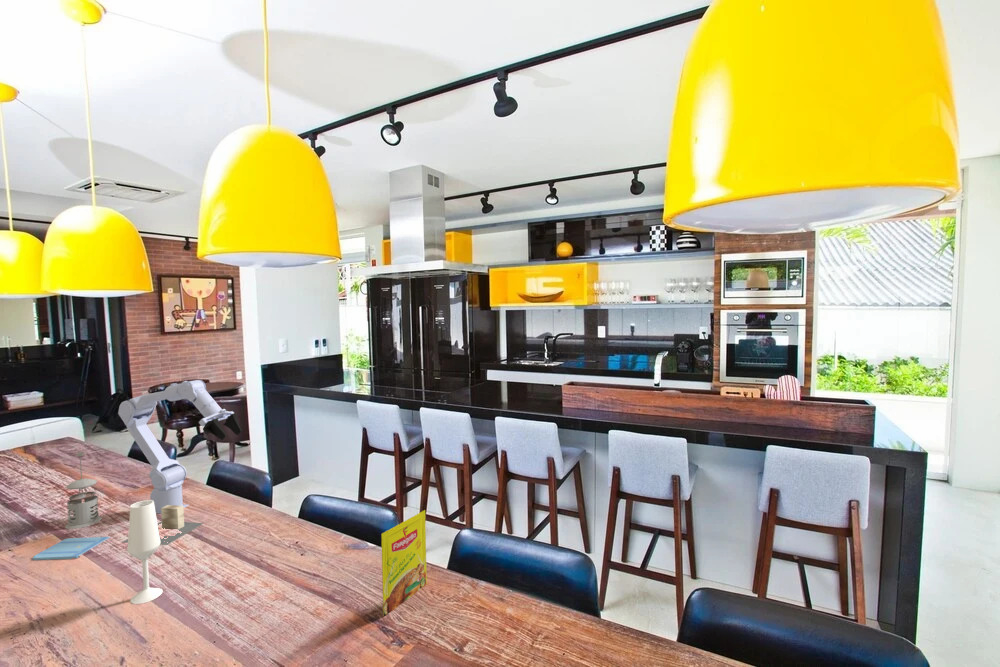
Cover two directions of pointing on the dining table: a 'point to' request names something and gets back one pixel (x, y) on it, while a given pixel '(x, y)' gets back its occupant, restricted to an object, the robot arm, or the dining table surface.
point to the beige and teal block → (172, 517)
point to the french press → (82, 504)
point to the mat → (187, 528)
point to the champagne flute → (143, 544)
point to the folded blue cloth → (69, 548)
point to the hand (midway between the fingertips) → (232, 435)
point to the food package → (403, 561)
